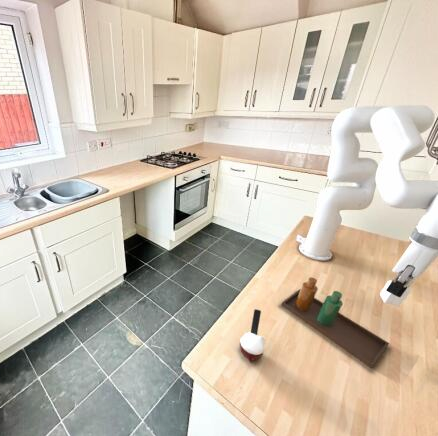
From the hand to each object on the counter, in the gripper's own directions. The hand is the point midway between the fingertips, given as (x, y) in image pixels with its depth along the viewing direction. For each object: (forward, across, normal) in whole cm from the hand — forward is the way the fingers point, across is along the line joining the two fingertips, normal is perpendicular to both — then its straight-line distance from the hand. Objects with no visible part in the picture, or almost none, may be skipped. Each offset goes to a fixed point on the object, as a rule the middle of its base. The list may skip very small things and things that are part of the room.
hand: (397, 288), depth 71 cm
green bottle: (+13, +14, -9) cm, 22 cm away
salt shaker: (+5, 0, 0) cm, 5 cm away
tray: (+14, +14, -7) cm, 21 cm away
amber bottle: (+14, +14, -16) cm, 25 cm away
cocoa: (+14, +42, -15) cm, 47 cm away
